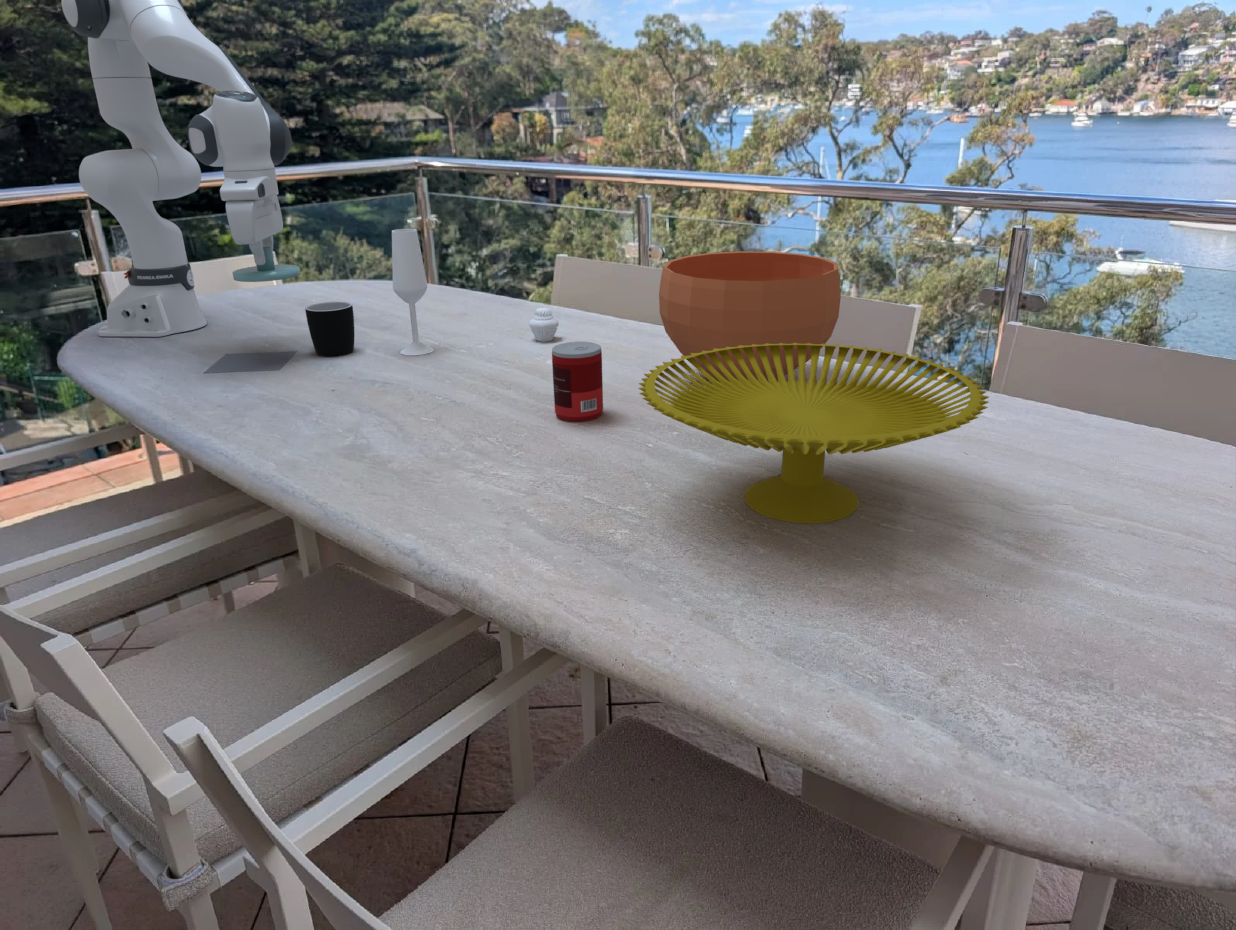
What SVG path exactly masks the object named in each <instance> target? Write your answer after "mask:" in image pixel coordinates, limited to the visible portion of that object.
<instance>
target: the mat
mask: <svg viewBox="0 0 1236 930" xmlns="http://www.w3.org/2000/svg"><path fill="white" fill-rule="evenodd" d="M297 352H298V350H288V351H285V350H284V351H267V352H266V351H263V352H259V351H258V352H241V353H238V352H237V353H235V352H234V353H225V354H224V355H223V356H221V357H220V358H219V359H218V360H217V361H216V362H214V363H213V364H212V365H211V366H210V367H208V368H207V369H206V370H205V371H204V372H203V374H221V373H223V374H226V373H243V372H244V373H246V372H268V371H269V372H270V371H272V372H273V371H280V370H281V369H282V368H283V367H284V366H285V365H286V364H287V363H288V362H289V361H290V360H291V358H293V357H294V355H296V354H297Z"/></svg>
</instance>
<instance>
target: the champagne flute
mask: <svg viewBox="0 0 1236 930" xmlns="http://www.w3.org/2000/svg"><path fill="white" fill-rule="evenodd" d="M418 235H419V234H418V230H417V229H415V228H400V229H399V228H397V229H393V230H391V256H392V257H391V261H392V262H391V263H392V289H393V291H394V293H395V294H396V296H397V297H398V298H400V299H401V300H402V301H404V303H406V304H408V305H409V306H408V307H409V315H410V323H411V324H410V325H411V327H410V328H411V335H412V336H411V337H412V342H411V343H410V344H409V345H407V346H406V347H405V348H403V349H402V350H401V351H400V354H401V355H405V356H421V355H427V354H430V353H432V352H434V348H432V347H431V346H428V345H426V344H424V343H423V342H421V341H420V340H419V329H418V328H419V327H418V319H417V311H416V304H417V303H418V302H420V300H421V299H422V298H423V296H424V295H425V293H427V289H428V283H427V277H426V271H425V265H424V262H423V256H422V251H421V246H420V241H419V236H418Z"/></svg>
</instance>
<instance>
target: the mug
mask: <svg viewBox="0 0 1236 930" xmlns="http://www.w3.org/2000/svg"><path fill="white" fill-rule="evenodd" d="M304 310H305V315H306V321H307V325H308V330H309V334H310V339H311V341H312V344H313V347H314V349H315V353H316V354H317V356H319V357H325V358H332V357H333V358H334V357H335V358H337V357H342V356H347V355H349V354H352V353H353V352H354V348H355V317H354V315H355V313H354V307H353V304H352V303H351V302H349V301H337V300H336V301H323V302H316V303H312V304H309V305H307V306H305V309H304Z"/></svg>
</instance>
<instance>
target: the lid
mask: <svg viewBox="0 0 1236 930" xmlns="http://www.w3.org/2000/svg"><path fill="white" fill-rule="evenodd" d="M263 251H264V254H266V260H267V262H266V263H265V264H264V265H256V264H255V266H248V267H243V268H239V269H236V270H233V271H232V278H233V280H234V281H236V282H245V283H260V282H273V281H280V280H286V279H291V278H296V277H297V276H300V275H301V269H300V266H299V265H295V264H275V259H273V256H274V252H273V253H272V248H271V247H263Z"/></svg>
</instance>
